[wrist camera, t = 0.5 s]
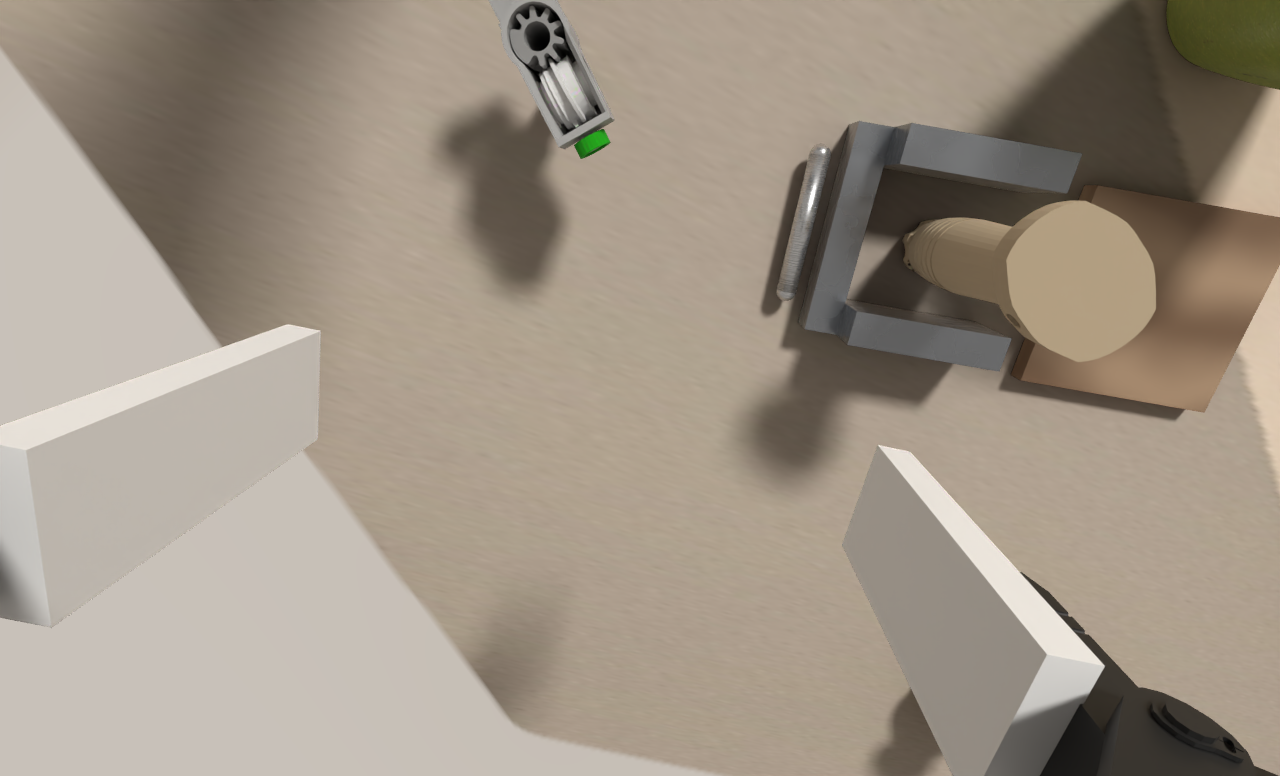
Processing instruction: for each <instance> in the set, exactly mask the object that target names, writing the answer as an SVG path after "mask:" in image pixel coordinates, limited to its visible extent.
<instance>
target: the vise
mask: <svg viewBox="0 0 1280 776" xmlns="http://www.w3.org/2000/svg"><path fill="white" fill-rule="evenodd" d="M1081 156H1082V153H1077V152H1071V151H1066V150H1060V149H1055V148H1049V147H1043V146H1038V145H1032V144H1026V143H1021V142H1015V141H1010V140H1004V139H998V138H993V137H987V136H982V135H976V134H970V133H965V132H959V131H953V130H948V129H942V128H937V127H931V126H925V125H920V124H914V123H910V124H906V125H902V126H898V127H889V126H884V125H878V124H872V123H867V122H861V121H858V122H855V123H852V124H849V127H848V131H847V135H846V139H845V143H844V147H843V151H842V154H841V158H840V162H839V166H838V170H837V174H836V178H835V181H834V185H833V189H832V193H831V197H830V201H829V205H828V209H827V212H826V216H825V220H824V224H823V228H822V232H821V236H820V240H819V243H818V247H817V251H816V255H815V259H814V263H813V267H812V270H811V274H810V278H809V282H808V286H807V290H806V294H805V298H804V301H803V305H802V309H801V313H800V317H799V321H798V323H799V324H800V325H801V326H802V327H803V328H804V329H806V330H812V331H818V332H824V333H829V334H835V335H837V336H838V337H839V338H840V339H841V340H843V341H844V342H845V343H846V344H847V345H851V346H857V347H862V348H868V349H874V350H879V351H885V352H891V353H897V354H902V355H908V356H914V357H919V358H925V359H931V360H936V361H942V362H948V363H954V364H959V365H965V366H971V367H976V368H982V369H988V370H994V371H1000V368H1001V366H1002V363H1003V361H1004V358H1005V355H1006V353H1007V350H1008V347H1009V345H1010V342H1011V340H1012V338H1009V337H1007V336H1005V335H1003V334H1001V333H998V332H996V331H994V330H992V329H990V328H987V327H985V326H983V325H981V324H978V323H976V322H974V321H968V320H962V319H957V318H951V317H945V316H940V315H934V314H928V313H922V312H917V311H911V310H905V309H900V308H894V307H888V306H883V305H877V304H871V303H866V302H860V301H854V300H848V299H846V298H847V295H848V291H849V288H850V284H851V281H852V277H853V274H854V270H855V266H856V263H857V259H858V256H859V252H860V249H861V245H862V242H863V238H864V234H865V231H866V227H867V224H868V220H869V217H870V213H871V210H872V206H873V203H874V199H875V195H876V192H877V188H878V185H879V181H880V178H881V174H882V171H883V168H885V169H891V170H897V171H902V172H908V173H913V174H919V175H925V176H930V177H936V178H942V179H947V180H953V181H959V182H964V183H970V184H976V185H981V186H987V187H992V188H998V189H1004V190H1009V191H1015V192H1023V193H1068V190H1069V187H1070V185H1071V182H1072V180H1073V177H1074V174H1075V172H1076V169H1077V166H1078V164H1079V161H1080V159H1081ZM830 157H831V152H830V149H829V147H828V146H826V145H824V144H818V145H816V146H814V147H813V148H812V149H811V151H810V154H809V158H808V162H807V166H806V170H805V174H804V179H803V183H802V187H801V191H800V195H799V199H798V203H797V207H796V212H795V216H794V220H793V224H792V228H791V232H790V236H789V240H788V245H787V249H786V253H785V257H784V261H783V265H782V269H781V274H780V278H779V282H778V286H777V291H776V292H777V296H778V297H779V298H780V299H781V300H783V301H788V300H791V299H792V298H793V297H794V296H795V294H796V291H797V287H798V283H799V279H800V275H801V271H802V267H803V263H804V259H805V255H806V252H807V248H808V244H809V240H810V236H811V232H812V228H813V224H814V220H815V216H816V212H817V208H818V204H819V200H820V196H821V192H822V188H823V184H824V180H825V176H826V173H827V169H828V165H829V161H830Z"/></svg>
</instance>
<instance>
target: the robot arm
mask: <svg viewBox="0 0 1280 776" xmlns="http://www.w3.org/2000/svg"><path fill="white" fill-rule="evenodd" d="M320 343H321V331H319V330H314V329H309V328H304V327H299V326H294V325H289V324H287V325H284V326H281V327H278V328H275V329H273V330H270V331H267V332H264V333H261V334H258V335H256V336H253V337H250V338H247V339H244V340H241V341H239V342H236V343H233V344H230V345H227V346H224V347H221V348H219V349H216V350H213V351H210V352H207V353H204V354H202V355H199V356H196V357H193V358H190V359H188V360H185V361H182V362H179V363H176V364H173V365H170V366H168V367H165V368H162V369H159V370H156V371H153V372H151V373H148V374H145V375H142V376H139V377H136V378H134V379H131V380H128V381H125V382H122V383H119V384H117V385H114V386H111V387H108V388H105V389H102V390H99V391H97V392H94V393H91V394H88V395H85V396H82V397H79V398H77V399H74V400H71V401H69V402H65V403H63V404H60V405H57V406H54V407H51V408H48V409H46V410H43V411H40V412H37V413H34V414H32V415H28V416H26V417H23V418H20V419H17V420H14V421H12V422H9V423H6V424H3V425H0V618H5V619H10V620H15V621H21V622H26V623H31V624H36V625H41V626H46V627H53V626H55V625H56V624H57V623H59V622H60V621H62V620H63V619H64V618H66V617H67V616H69V615H70V614H72V613H73V612H74V611H76V610H77V609H78V608H80V607H81V606H83V605H84V604H86V603H87V602H88V601H90V600H91V599H93V598H94V597H95V596H97V595H98V594H100V593H101V592H102V591H104V590H105V589H107V588H108V587H110V586H111V585H112V584H114V583H115V582H116V581H118V580H119V579H121V578H122V577H124V576H125V575H126V574H128V573H129V572H131V571H132V570H134V569H135V568H136V567H138V566H139V565H141V564H142V563H144V562H145V561H146V560H148V559H149V558H151V557H152V556H153V555H155V554H156V553H158V552H159V551H161V550H162V549H163V548H165V547H166V546H167V545H169V544H170V543H172V542H173V541H175V540H176V539H177V538H179V537H180V536H182V535H183V534H185V533H186V532H187V531H189V530H190V529H191V528H193V527H194V526H196V525H197V524H199V523H200V522H202V521H203V520H204V519H206V518H207V517H209V516H210V515H211V514H213V513H214V512H216V511H217V510H218V509H220V508H221V507H223V506H224V505H225V504H227V503H228V502H230V501H231V500H233V499H234V498H235V497H237V496H238V495H240V494H241V493H242V492H244V491H245V490H247V489H248V488H250V487H251V486H252V485H254V484H255V483H257V482H258V481H259V480H261V479H262V478H263V477H265V476H267V475H268V474H269V473H271V472H272V471H274V470H275V469H276V468H278V467H279V466H281V465H282V464H283V463H285V462H286V461H288V460H289V459H290V458H292V457H293V456H295V455H296V454H298V453H299V452H300V451H302V450H303V449H305V448H306V447H308V446H309V445H310V444H312V443H313V442H315V441H316V440H317V439H318V415H319V379H320ZM842 546H843V548H844V550H845V552H846V554H847V557H848V559H849V561H850V563H851V565H852V567H853V569H854V571H855V573H856V575H857V577H858V579H859V581H860V584H861V586H862V588H863V590H864V592H865V594H866V596H867V598H868V600H869V602H870V604H871V606H872V609H873V611H874V613H875V615H876V617H877V619H878V621H879V623H880V625H881V627H882V629H883V631H884V634H885V636H886V638H887V640H888V642H889V644H890V646H891V648H892V650H893V652H894V654H895V656H896V659H897V661H898V663H899V665H900V667H901V669H902V671H903V673H904V675H905V677H906V679H907V681H908V683H909V686H910V688H911V690H912V692H913V694H914V696H915V698H916V700H917V702H918V704H919V706H920V708H921V711H922V713H923V715H924V717H925V719H926V721H927V723H928V725H929V727H930V729H931V731H932V733H933V736H934V738H935V740H936V742H937V744H938V746H939V748H940V750H941V752H942V754H943V756H944V758H945V761H946V763H947V765H948V767H949V769H950V771H951V773H952V775H953V776H1278V775H1275V774H1273V773H1270V772H1268V771H1265V770H1263V769H1261V768H1258V767H1256V766H1254V764H1253V762H1252V760H1251V758H1250V756H1249V754H1248V752H1247V751H1246V750H1245V749H1244V748H1243V747H1242V746H1241V745H1240V743H1239V742H1238V741H1237V740H1236V739H1235V738H1234V737H1233V736H1232V735H1231V734H1230V733H1228V732H1227V731H1226V730H1225V729H1223V728H1222V727H1221V726H1220V725H1218V724H1217V723H1216V722H1214V721H1213V720H1212V719H1211V718H1209V717H1208V716H1206V715H1204V714H1203V713H1201V712H1199V711H1198V710H1196V709H1194V708H1193V707H1191V706H1190V705H1188V704H1186V703H1184V702H1182V701H1180V700H1178V699H1175V698H1173V697H1171V696H1169V695H1167V694H1164V693H1162V692H1158V691H1154V690H1151V689H1147V688H1138V687H1137V686H1136V685H1135V684H1134V682H1133V681H1132V680H1131V679H1130V678H1129V677H1128V676H1127V675H1126V674H1125V673H1124V672H1123V671H1122V670H1121V669H1120V668H1119V666H1118V665H1117V664H1116V663H1115V662H1114V661H1113V660H1112V659H1111V658H1110V657H1109V656H1108V655H1107V654H1106V653H1105V652H1104V650H1103V649H1102V648H1101V647H1100V646H1099V645H1098V644H1097V643H1096V642H1095V641H1094V640H1093V639H1092V638H1091V637H1090V636H1089V635H1087V634H1085V633H1084V632H1085V630H1084V629H1083V628H1082V627H1081V626H1080V625H1079V624H1078V623H1077V622H1076V621H1075V620H1074V618H1073V617H1069V616H1068V612H1067V611H1066V610H1065V609H1064V608H1063V607H1062V606H1061V605H1060V604H1059V602H1058V601H1057V600H1056V599H1055V598H1054V597H1053V596H1052V595H1051V594H1050V593H1049V592H1048V591H1047V590H1045V589H1044V588H1042V587H1041V586H1040V585H1038V584H1037V583H1036V582H1034V581H1033V580H1031V579H1030V578H1029V577H1027V576H1026V575H1025V574H1023V573H1022V572H1019V571H1018V570H1017V569H1016V568H1015V567H1014V566H1013V564H1012V563H1011V562H1010V561H1009V560H1008V559H1007V558H1006V557H1005V556H1004V555H1003V553H1002V552H1001V551H1000V550H999V549H998V548H997V547H996V546H995V545H994V544H993V542H992V541H991V540H990V539H989V538H988V537H987V536H986V535H985V534H984V533H983V531H982V530H981V529H980V528H979V527H978V526H977V525H976V524H975V523H974V522H973V520H972V519H971V518H970V517H969V516H968V515H967V514H966V513H965V512H964V511H963V509H962V508H961V507H960V506H959V505H958V504H957V503H956V502H955V501H954V500H953V498H952V497H951V496H950V495H949V494H948V493H947V492H946V491H945V490H944V489H943V488H942V486H941V485H940V484H939V483H938V482H937V481H936V480H935V479H934V478H933V477H932V475H931V474H930V473H929V472H928V471H927V470H926V469H925V468H924V467H923V466H922V464H921V463H920V462H919V461H918V460H917V459H916V458H915V457H914V456H913V455H912V453H911V452H910V451H905V450H900V449H895V448H890V447H885V446H880V445H878V446H877V449H876V451H875V454H874V457H873V460H872V463H871V465H870V468H869V471H868V474H867V477H866V479H865V482H864V485H863V488H862V491H861V493H860V496H859V499H858V502H857V505H856V507H855V510H854V513H853V516H852V519H851V521H850V524H849V527H848V530H847V533H846V535H845V538H844V541H843V544H842Z"/></svg>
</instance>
